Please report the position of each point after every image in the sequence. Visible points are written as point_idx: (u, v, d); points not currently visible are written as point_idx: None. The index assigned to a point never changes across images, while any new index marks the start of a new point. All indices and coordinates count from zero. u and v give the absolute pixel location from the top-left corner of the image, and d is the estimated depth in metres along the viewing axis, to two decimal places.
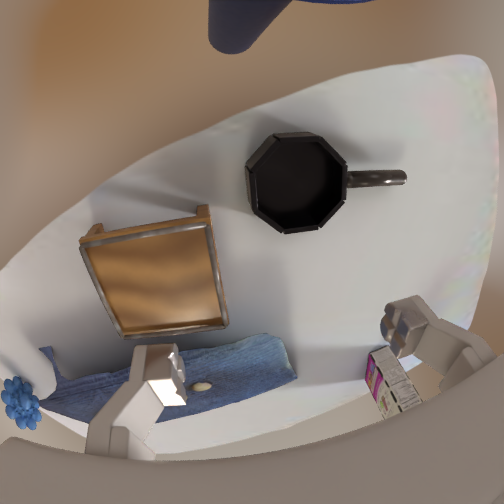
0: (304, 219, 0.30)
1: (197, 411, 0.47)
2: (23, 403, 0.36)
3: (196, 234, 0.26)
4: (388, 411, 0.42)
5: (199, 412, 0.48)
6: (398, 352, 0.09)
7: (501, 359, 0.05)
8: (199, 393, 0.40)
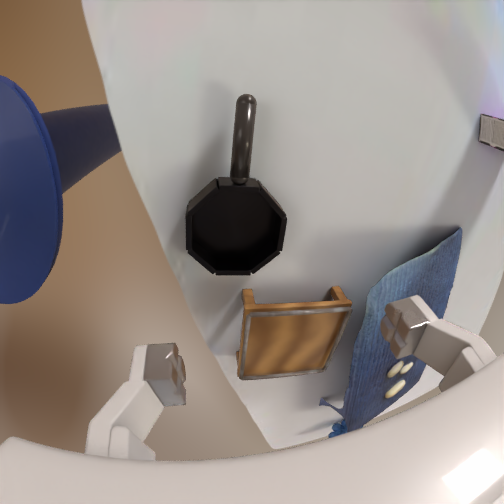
0: (276, 220, 0.30)
1: None
2: None
3: (256, 318, 0.33)
4: None
5: None
6: (397, 351, 0.09)
7: (501, 359, 0.05)
8: None
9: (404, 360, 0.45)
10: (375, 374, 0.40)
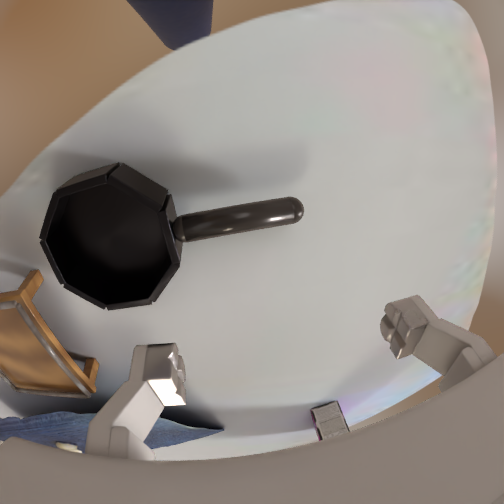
0: (139, 285, 0.21)
1: None
2: None
3: (18, 310, 0.17)
4: None
5: None
6: (397, 351, 0.09)
7: (501, 359, 0.05)
8: None
9: (78, 446, 0.31)
10: (49, 436, 0.25)
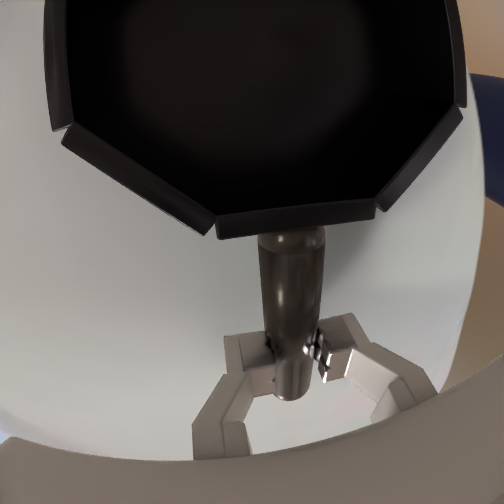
0: (99, 79, 0.05)
1: None
2: None
3: None
4: None
5: None
6: (323, 374, 0.09)
7: (501, 359, 0.05)
8: None
9: None
10: None
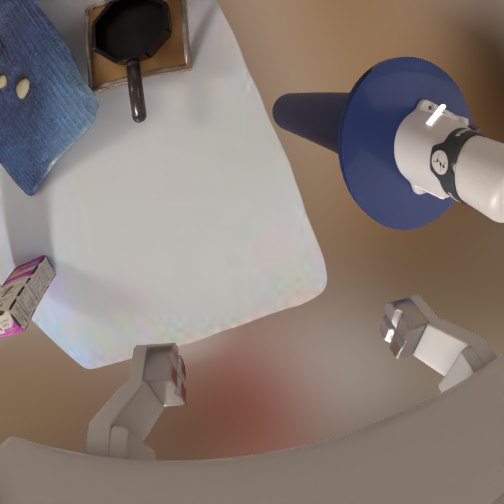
0: (100, 43, 0.24)
1: None
2: None
3: (178, 59, 0.28)
4: (2, 298, 0.33)
5: None
6: (397, 351, 0.09)
7: (501, 359, 0.05)
8: (9, 96, 0.24)
9: None
10: (19, 35, 0.17)
